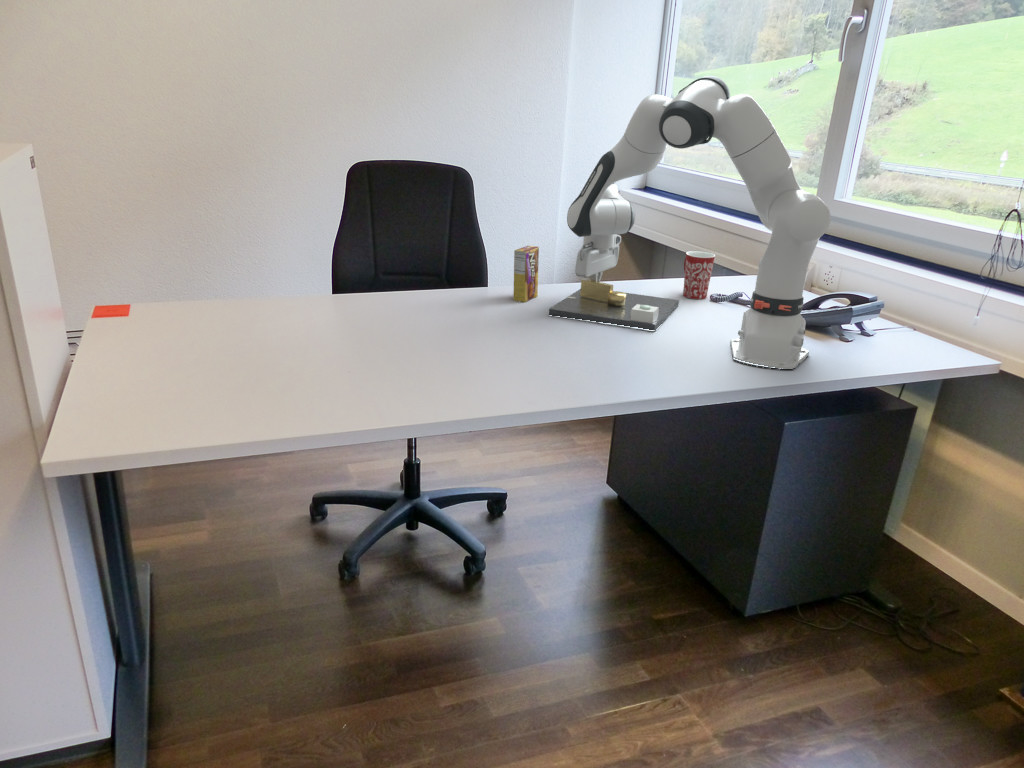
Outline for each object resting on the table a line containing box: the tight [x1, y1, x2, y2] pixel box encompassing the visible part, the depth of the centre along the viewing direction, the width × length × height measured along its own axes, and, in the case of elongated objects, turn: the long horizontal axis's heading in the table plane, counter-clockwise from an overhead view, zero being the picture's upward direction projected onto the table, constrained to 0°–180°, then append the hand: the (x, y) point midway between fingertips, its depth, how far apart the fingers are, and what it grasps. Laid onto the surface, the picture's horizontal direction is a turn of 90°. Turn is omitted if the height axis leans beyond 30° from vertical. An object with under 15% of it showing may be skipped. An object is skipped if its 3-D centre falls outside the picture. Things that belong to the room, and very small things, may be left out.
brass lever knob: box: [580, 277, 627, 306], centre depth 215 cm, size 14×5×5 cm, turn 51°
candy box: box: [512, 245, 540, 303], centre depth 221 cm, size 9×4×15 cm, turn 152°
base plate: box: [548, 288, 680, 331], centre depth 213 cm, size 30×30×6 cm
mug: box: [682, 250, 716, 300], centre depth 234 cm, size 13×9×14 cm
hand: (595, 286), depth 219 cm, fingers closed
